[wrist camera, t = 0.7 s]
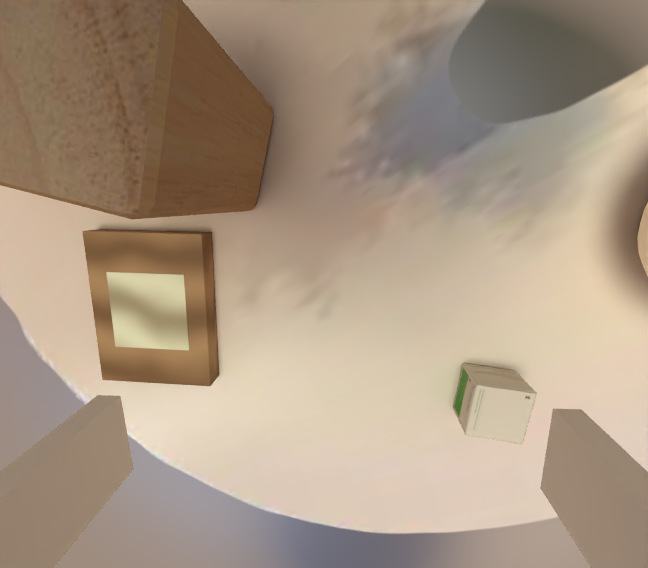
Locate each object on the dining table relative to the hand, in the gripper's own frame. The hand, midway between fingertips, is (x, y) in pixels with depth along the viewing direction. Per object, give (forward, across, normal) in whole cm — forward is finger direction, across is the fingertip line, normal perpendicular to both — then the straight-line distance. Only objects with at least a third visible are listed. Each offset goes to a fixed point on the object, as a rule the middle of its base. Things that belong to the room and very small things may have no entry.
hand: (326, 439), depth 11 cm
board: (+26, -20, -4) cm, 33 cm away
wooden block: (+26, -12, +12) cm, 31 cm away
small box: (+26, +15, -13) cm, 33 cm away
